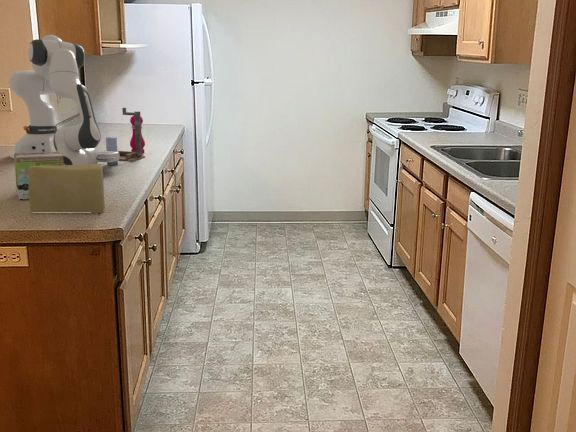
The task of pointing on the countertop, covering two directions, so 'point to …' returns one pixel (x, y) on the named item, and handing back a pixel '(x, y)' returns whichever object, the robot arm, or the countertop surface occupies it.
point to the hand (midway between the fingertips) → (105, 152)
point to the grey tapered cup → (111, 148)
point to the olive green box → (66, 188)
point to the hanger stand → (138, 154)
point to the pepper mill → (133, 142)
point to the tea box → (27, 161)
